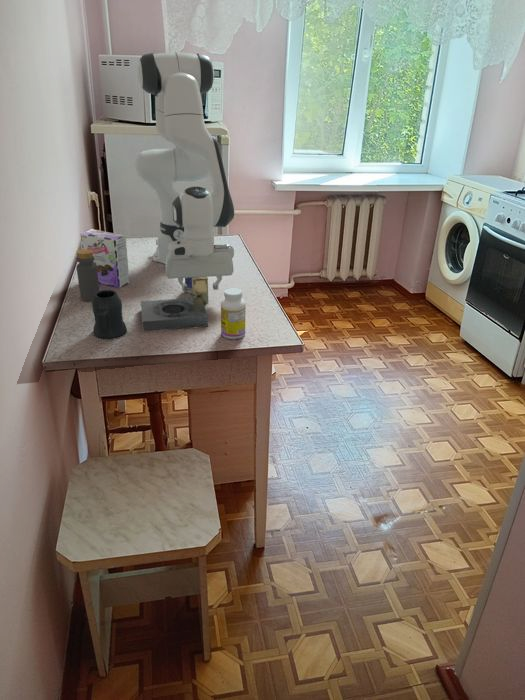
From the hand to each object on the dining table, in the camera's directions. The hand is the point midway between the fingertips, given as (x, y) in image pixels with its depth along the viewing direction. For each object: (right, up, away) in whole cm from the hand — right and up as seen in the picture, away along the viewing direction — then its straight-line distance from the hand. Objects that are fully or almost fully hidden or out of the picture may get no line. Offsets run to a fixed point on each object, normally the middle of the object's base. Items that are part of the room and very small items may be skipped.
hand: (200, 289), depth 162 cm
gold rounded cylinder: (0, -4, +2) cm, 4 cm away
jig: (-7, -9, -8) cm, 14 cm away
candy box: (-32, +4, +15) cm, 36 cm away
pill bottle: (-3, +1, +11) cm, 11 cm away
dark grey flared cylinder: (-23, -14, -18) cm, 32 cm away
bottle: (-34, -2, +3) cm, 35 cm away
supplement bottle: (+11, -14, -16) cm, 24 cm away
